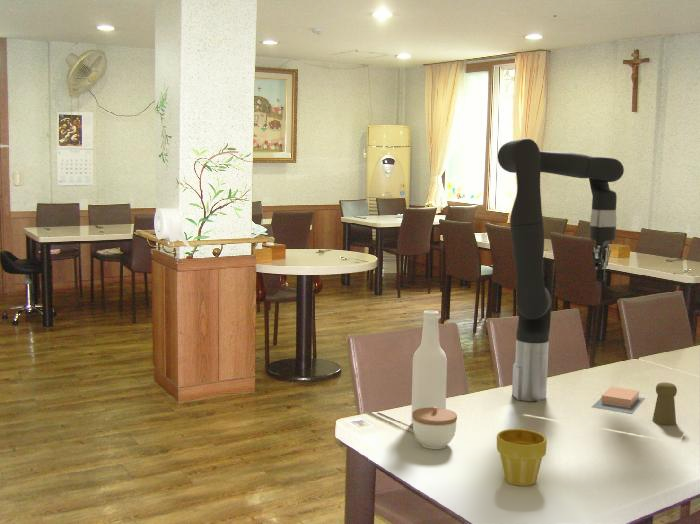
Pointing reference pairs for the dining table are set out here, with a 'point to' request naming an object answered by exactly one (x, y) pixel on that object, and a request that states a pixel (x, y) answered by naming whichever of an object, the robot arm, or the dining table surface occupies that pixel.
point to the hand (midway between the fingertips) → (600, 281)
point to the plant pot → (521, 455)
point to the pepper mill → (665, 404)
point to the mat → (618, 408)
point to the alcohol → (429, 367)
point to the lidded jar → (434, 426)
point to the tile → (620, 397)
